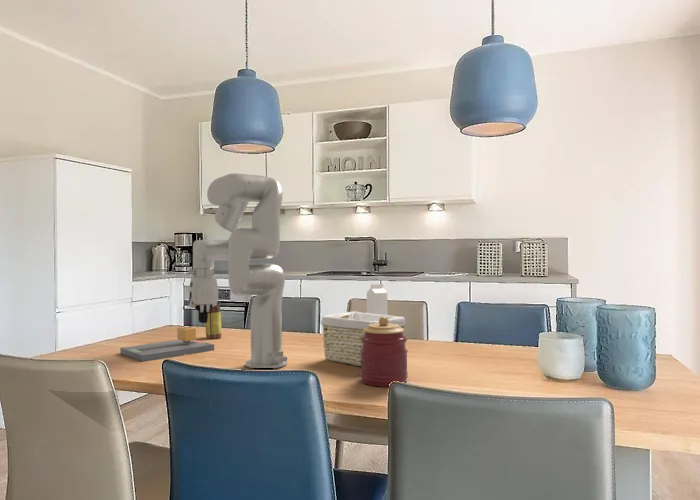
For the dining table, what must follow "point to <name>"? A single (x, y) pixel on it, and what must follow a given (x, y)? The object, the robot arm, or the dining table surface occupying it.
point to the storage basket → (349, 334)
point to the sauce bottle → (214, 323)
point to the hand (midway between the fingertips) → (203, 322)
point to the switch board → (165, 349)
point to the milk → (377, 300)
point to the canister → (383, 354)
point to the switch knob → (186, 334)
